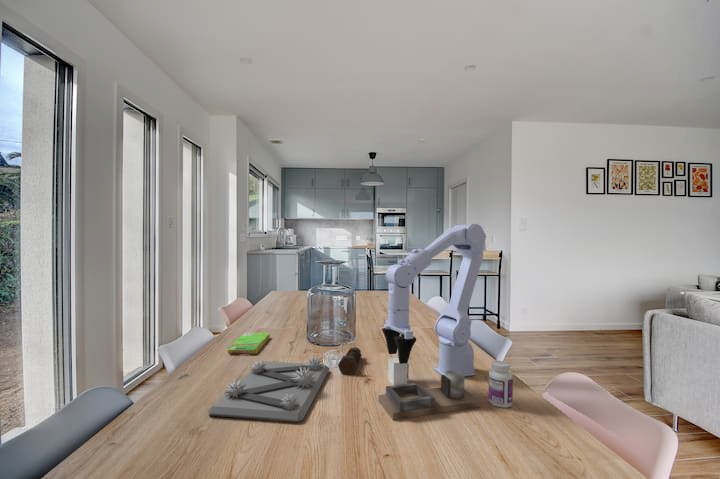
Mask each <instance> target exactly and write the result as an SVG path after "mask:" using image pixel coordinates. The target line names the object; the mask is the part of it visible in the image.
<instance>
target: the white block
mask: <svg viewBox="0 0 720 479" xmlns="http://www.w3.org/2000/svg"><path fill="white" fill-rule="evenodd" d="M387 364H388V365H387V366H388V367H387V381H389V383H391V384H392V386H393V385H402V384H408V379H409V363H404V364H400V363H399V358H398V356H397V357H389V358H388V363H387Z"/></svg>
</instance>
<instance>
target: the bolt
mask: <svg viewBox="0 0 720 479" xmlns="http://www.w3.org/2000/svg"><path fill="white" fill-rule="evenodd" d="M362 356H363V355H362V353H361V349H360V348H359V347H350V348H349V349H348V350H347V353H346V355H343V356H342V358H341V359H340V361H339V362H338V365H337V367H338V369H339V371H340V373H341V374H342V375H347V376H352V375H354V373H355V371H356V370H357V368H358V367H359V365H358V364H359V361H360V360H361V358H362Z"/></svg>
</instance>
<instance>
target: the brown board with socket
mask: <svg viewBox="0 0 720 479" xmlns="http://www.w3.org/2000/svg"><path fill="white" fill-rule="evenodd" d="M440 375H441V374H440ZM465 377H466V376H465V375H464V373H462V372H459V371H453V370H451V371H447V372H446V373H445V375H441V376H440V378H441V379H440V386H439V387H434V388H433V387H432V388H425V387H424V386H422V384H420V383H419V382H413V383H407V384H402V385H394V386H393V385H388V386H387V385H386V386H385V393H384V394H379V395H378V403H379V404H380V406H383V407H382V408H383V409H384V410H385V412H386V414H388V416H389V417H390V418H391V420H392V421H396V420H401V419H402V420H403V419H411V418H416V417H423V416H429V415H435V414H437V415H438V414H443V413H450V412H456V411H463V410H470V409H471V410H472V409H477V408H481V400H479V398H477V397H475V396H474V395H473V394H472V393H470V392H469V391H467V390H466V389H465Z"/></svg>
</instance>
